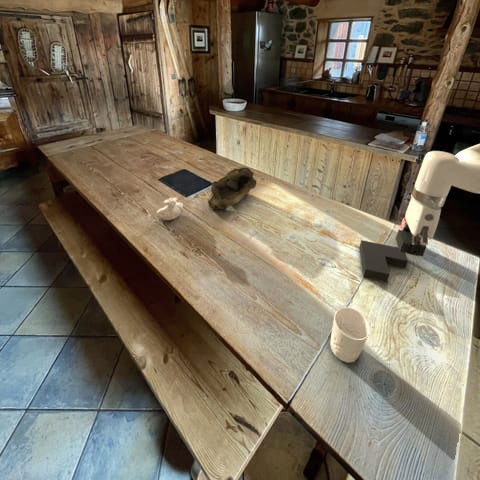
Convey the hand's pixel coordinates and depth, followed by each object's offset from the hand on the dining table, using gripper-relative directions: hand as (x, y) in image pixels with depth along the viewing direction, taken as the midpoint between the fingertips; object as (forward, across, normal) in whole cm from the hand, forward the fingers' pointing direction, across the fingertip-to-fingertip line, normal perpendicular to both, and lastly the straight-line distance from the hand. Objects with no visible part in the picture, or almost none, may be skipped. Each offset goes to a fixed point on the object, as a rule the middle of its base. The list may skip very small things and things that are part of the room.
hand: (409, 245), depth 80 cm
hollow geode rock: (+14, +26, +64) cm, 71 cm away
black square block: (+1, 0, 0) cm, 1 cm away
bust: (+14, +5, +85) cm, 87 cm away
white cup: (+14, -28, +18) cm, 36 cm away
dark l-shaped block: (+14, +4, +3) cm, 15 cm away
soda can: (+14, +18, -7) cm, 24 cm away
